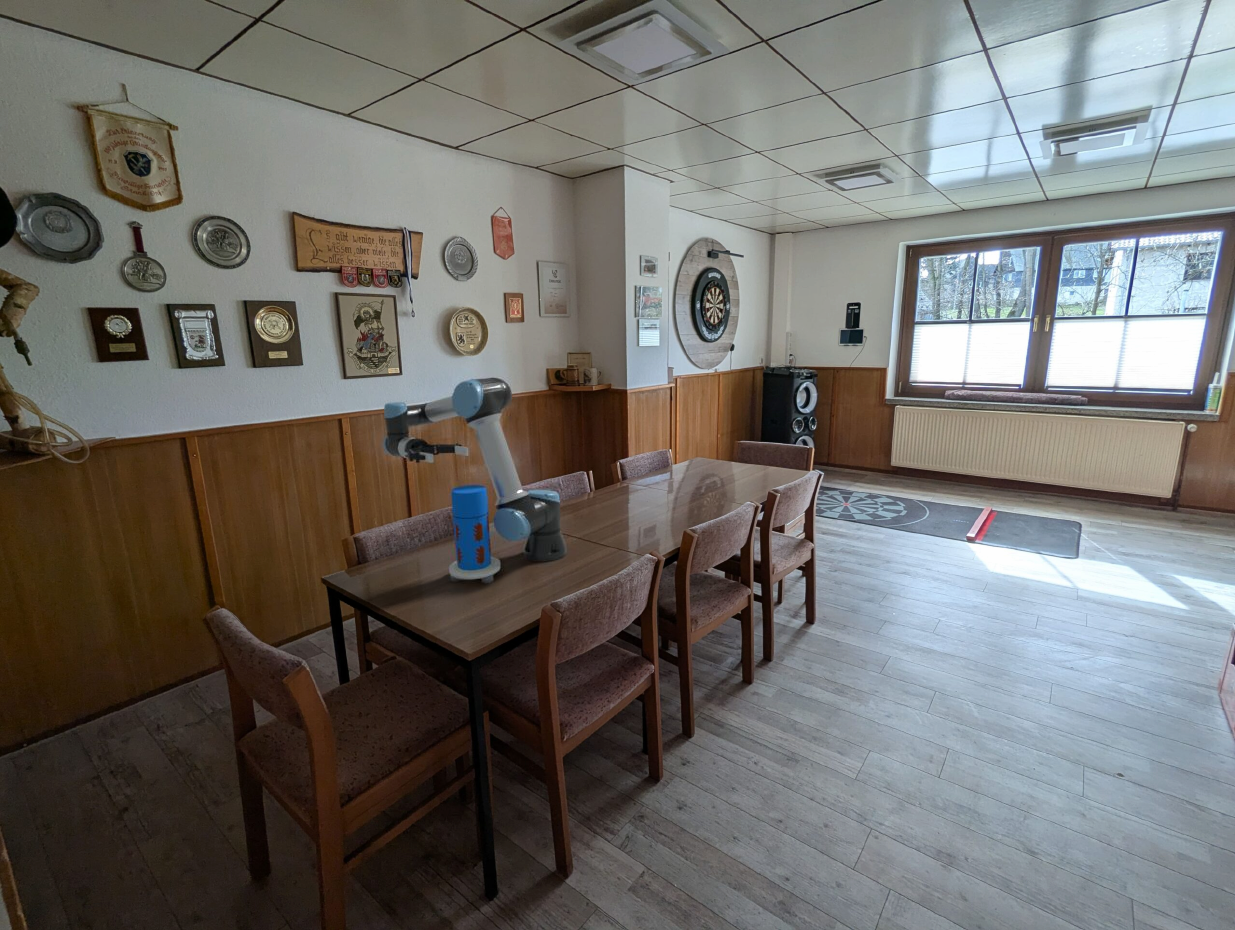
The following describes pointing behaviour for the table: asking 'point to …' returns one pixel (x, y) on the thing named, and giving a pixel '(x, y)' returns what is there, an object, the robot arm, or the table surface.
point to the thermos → (471, 527)
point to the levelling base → (475, 572)
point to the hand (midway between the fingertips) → (450, 455)
